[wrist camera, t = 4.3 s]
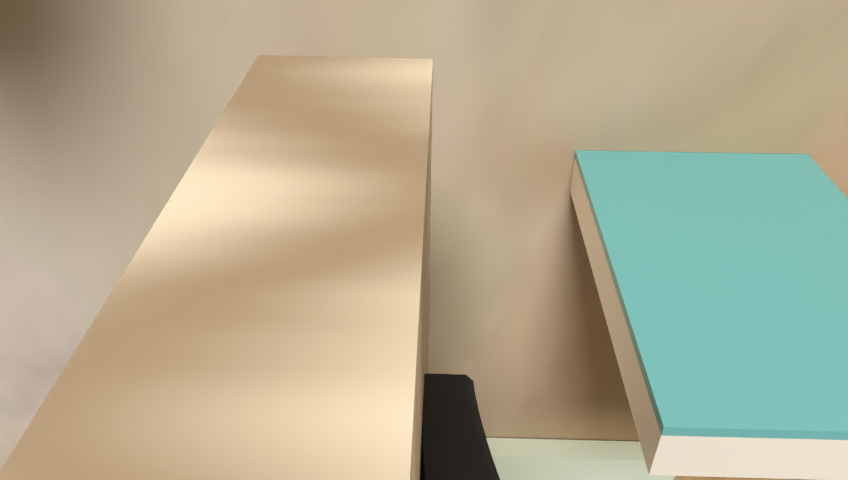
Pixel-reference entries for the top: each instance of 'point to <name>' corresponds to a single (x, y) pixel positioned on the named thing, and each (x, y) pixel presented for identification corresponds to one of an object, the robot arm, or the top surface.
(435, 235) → the top surface
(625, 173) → the tile
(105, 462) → the tan wooden block
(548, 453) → the rest board
